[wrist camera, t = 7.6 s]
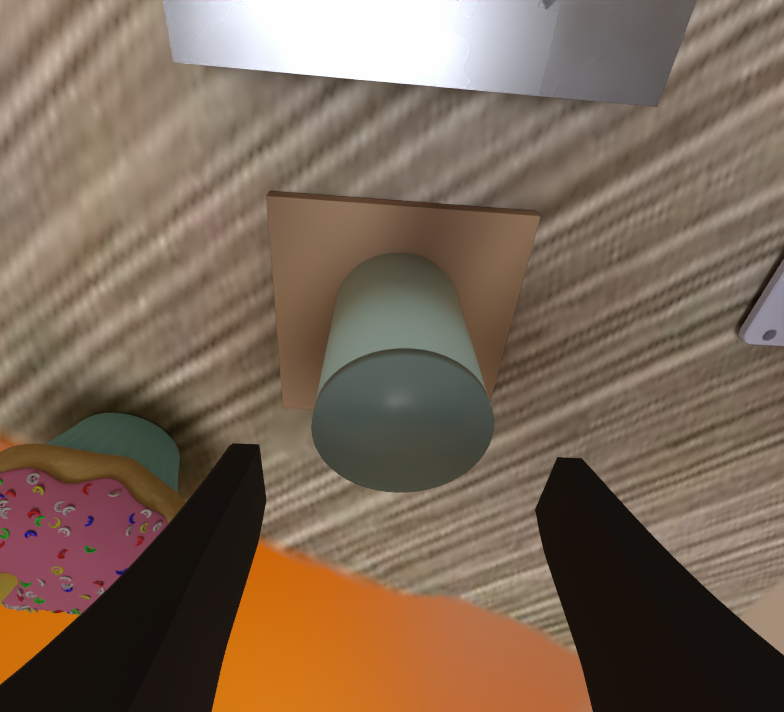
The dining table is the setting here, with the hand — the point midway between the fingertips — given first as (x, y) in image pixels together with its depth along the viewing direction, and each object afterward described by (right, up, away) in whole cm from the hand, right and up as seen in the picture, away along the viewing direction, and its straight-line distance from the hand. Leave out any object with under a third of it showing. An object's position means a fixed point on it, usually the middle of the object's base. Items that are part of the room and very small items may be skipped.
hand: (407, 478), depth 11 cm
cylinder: (0, +5, +6) cm, 7 cm away
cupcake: (-13, -1, +10) cm, 17 cm away
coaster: (0, +5, +7) cm, 8 cm away
